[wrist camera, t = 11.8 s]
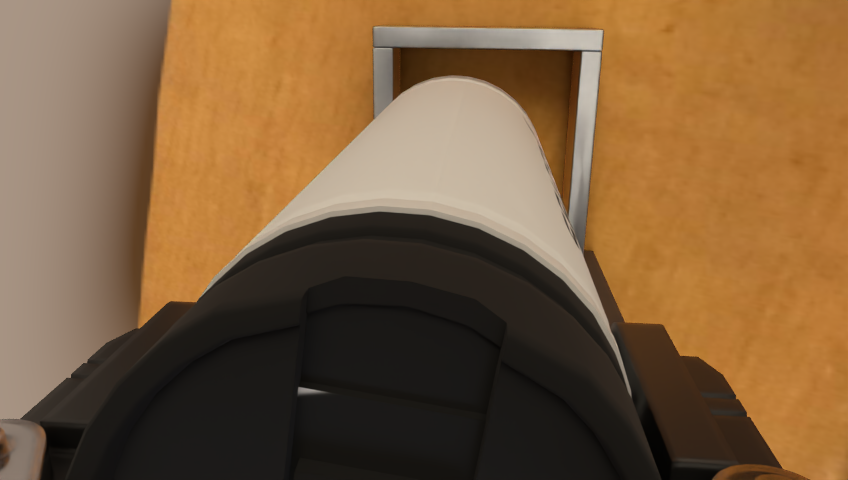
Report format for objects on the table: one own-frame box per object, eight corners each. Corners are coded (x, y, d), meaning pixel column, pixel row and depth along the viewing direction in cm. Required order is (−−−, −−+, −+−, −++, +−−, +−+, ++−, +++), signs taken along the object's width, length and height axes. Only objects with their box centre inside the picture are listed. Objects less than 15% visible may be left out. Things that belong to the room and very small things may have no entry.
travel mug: (359, 236, 26) (26, 828, 7) (381, 61, 24) (-16, 263, 5) (520, 263, 26) (604, 950, 7) (557, 89, 24) (822, 412, 5)
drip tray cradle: (381, 25, 36) (305, 34, 21) (594, 28, 35) (677, 39, 20) (383, 242, 39) (320, 381, 24) (575, 249, 39) (631, 399, 24)
